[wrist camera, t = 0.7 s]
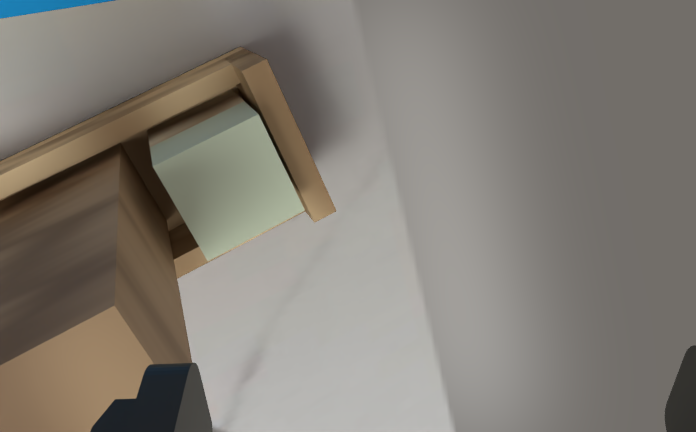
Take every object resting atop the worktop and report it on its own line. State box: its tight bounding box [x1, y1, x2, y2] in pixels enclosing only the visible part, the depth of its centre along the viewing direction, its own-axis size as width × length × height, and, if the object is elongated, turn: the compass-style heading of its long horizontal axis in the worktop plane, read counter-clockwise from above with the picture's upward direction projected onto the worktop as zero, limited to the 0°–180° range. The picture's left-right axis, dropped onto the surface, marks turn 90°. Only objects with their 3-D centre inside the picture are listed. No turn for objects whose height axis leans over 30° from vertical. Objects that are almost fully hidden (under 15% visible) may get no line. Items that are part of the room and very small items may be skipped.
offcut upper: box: [150, 101, 305, 261], centre depth 24 cm, size 4×4×3 cm
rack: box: [0, 47, 336, 278], centre depth 27 cm, size 13×7×6 cm, turn 113°
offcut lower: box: [147, 89, 244, 147], centre depth 27 cm, size 4×4×4 cm
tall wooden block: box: [0, 143, 192, 432], centre depth 21 cm, size 6×4×16 cm, turn 113°
